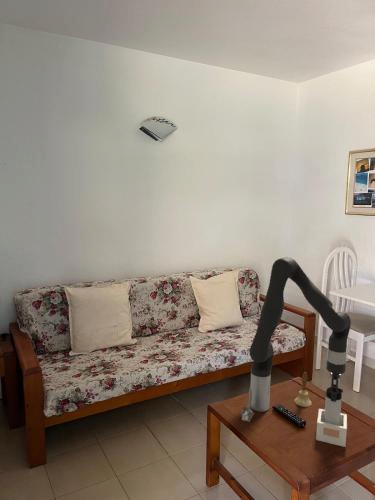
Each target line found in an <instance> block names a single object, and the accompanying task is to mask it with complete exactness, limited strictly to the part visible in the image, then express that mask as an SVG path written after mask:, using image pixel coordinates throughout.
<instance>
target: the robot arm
mask: <svg viewBox="0 0 375 500" xmlns="http://www.w3.org/2000/svg"><path fill="white" fill-rule="evenodd" d="M301 267H302V266H300V264H299V263H298V262H297V261H296V260H295V259H294V258H292V257H288V256H287V257H281V258H278V259H276V260H275V261H274V262H273V264H272V266H271V272H270V278H269V282H268V287H267V291H266V295H265V298H264V300H263V301H264V302H263V305H262V309H261V312H260V316H259V320H258V323H257V328H256V332H255V335H254V337H253V340H252V343H251V344H250V347H249V356H250V359H251V360H252V361H253V363H252V365H251V367H250V387H249V392H248V396H249V397H248V403H250V409H251V410H252V411H256V412H263V413H264V412H266V411H268V410H269V409H270V400H271V397H270V396H271V378H272V377H271V376H272V375H271V372H272V368H273V362H274V346H273V344H272V342H271V339H272V338H273V335H274V333H275V331H276V330H277V328H278V326H279V324H280V323H281V320H282V315H283V312H284V309H285V299H284V294H285V293H284V292H285V287H286V285H287V281H288V279H290V280H291V281H292V282H294V283H295V284H296V286H297V287H299V290H300V292H301V293H302V294H303V296H304V298H305V300H306V302H307V303H308V304H310V306H311V307H312V308H313V309H314V310H315V311H316V312H317V313H318V314H319V316H320V317H321V319H322V320H323V322H324V324H325V325H326V326H327V327H328V328H329V329H330V330H331V334H330V335H329V338H328V346H327V351H326V353H327V354H326V364H325V369H326V371H328V372H329V373H330V375H329V381H330V382H329V383H330V384H329V387H331V391H330V392H331V401H333V402H336V399H337V394H338V392H337V390H338V388H340V382H341V375H344V374H345V373H346V371H347V370H346V368H347V345H348V338H349V333H350V330H351V326H352V324H351V323H352V322H351V321H352V320H351V318H350V315H349V314H348V313H347V312H345V311H338V312H337V311H336V310H334V308H333V307H334V306H333V302H332V301H331V300H330V299H329V298H328V297H327V296H326V295H325V294H324V293H323V292H322V291H321V290H320V289H319V288H318V287H317V286H316V285H315V284H314V283H313V281H312V280H311V279H310V278H309V277H308V275H307V274H306V272H304V270H303V268H301ZM332 388H335V389H336V390H332Z"/></svg>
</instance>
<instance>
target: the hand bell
mask: <svg viewBox="0 0 375 500" xmlns="http://www.w3.org/2000/svg"><path fill="white" fill-rule="evenodd" d="M301 382H302V385H301V386H302V387H301V390H299V391H298V393H297V394H298V395H297V397H296V398H294V400H293V401H294V403H295V404H296V405H297V406H300V407H304V408H308V407H311V406H312V405H313V404H312V401H311V400H310V397H309V392H308V391H306V389H307V382H308V374H307V372H306V371H304V372H303V374H302V377H301Z"/></svg>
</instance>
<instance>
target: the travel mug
mask: <svg viewBox="0 0 375 500" xmlns="http://www.w3.org/2000/svg"><path fill="white" fill-rule="evenodd" d="M332 390H336V389H335V388H332ZM330 391H331V387H330V386H329V387H328V388H327V387H326V390H325V401H324V410H325V413H324V422H325V423H329V424H334V425H338V426H340V413H342V412H341V411H342V410H341V409H342V395H343V393H344V390H343V389H342V388H340V387H339V388H338V390H337V392H338V394H337V399H336V402H333V401H331V392H330Z"/></svg>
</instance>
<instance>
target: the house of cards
mask: <svg viewBox="0 0 375 500" xmlns="http://www.w3.org/2000/svg"><path fill="white" fill-rule="evenodd" d="M240 410H241V411H240V417H241V420H242V421H245V422H249V423H250V421H251V420H252V418H253V416H254V415H255V413H254V412H253V411H254V410H253V409H252V408H250V403H249V402H246V405H245V410H244V409H240Z"/></svg>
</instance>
